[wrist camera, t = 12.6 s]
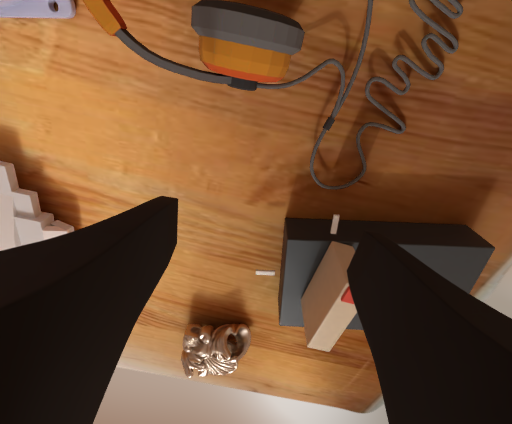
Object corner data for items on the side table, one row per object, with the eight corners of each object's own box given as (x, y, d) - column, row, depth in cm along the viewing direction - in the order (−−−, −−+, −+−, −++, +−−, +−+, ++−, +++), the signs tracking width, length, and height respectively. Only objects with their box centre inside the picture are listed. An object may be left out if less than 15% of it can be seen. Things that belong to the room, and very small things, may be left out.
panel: (256, 297, 25) (254, 326, 22) (258, 192, 19) (257, 212, 17) (427, 306, 24) (447, 336, 21) (478, 200, 19) (514, 222, 16)
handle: (319, 304, 21) (330, 356, 17) (300, 299, 20) (307, 350, 17) (353, 246, 18) (375, 292, 14) (331, 240, 18) (348, 286, 14)
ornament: (219, 298, 25) (212, 331, 22) (263, 335, 27) (262, 370, 24) (165, 329, 28) (151, 363, 24) (209, 361, 30) (202, 396, 27)
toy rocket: (-67, 141, 18) (-108, 150, 16) (72, 170, 19) (49, 182, 17) (-6, 296, 26) (-29, 315, 24) (92, 314, 27) (78, 334, 25)
